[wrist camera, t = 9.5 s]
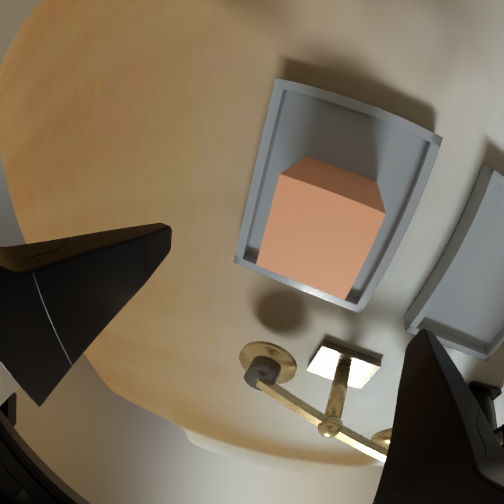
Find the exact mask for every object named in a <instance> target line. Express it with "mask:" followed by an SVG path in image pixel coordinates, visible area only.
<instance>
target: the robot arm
mask: <svg viewBox="0 0 504 504" xmlns="http://www.w3.org/2000/svg"><path fill="white" fill-rule="evenodd" d="M171 236H172V229H171V227H170V226H168V225H166V224H163V223H155V224H148V225H141V226H135V227H128V228H122V229H115V230H109V231H103V232H97V233H91V234H85V235H79V236H74V237H71V238H70V237H68V238H63V239H57V240H51V241H45V242H38V243H31V244H23V245H16V246H9V247H0V504H90V503H89V502H88V501H86V500H85V499H84V498H83V497H81V496H80V495H79V494H78V493H77V492H75V491H74V490H73V489H72V488H71V487H69V486H68V485H67V484H66V483H65V482H64V481H63V480H62V479H61V478H60V477H58V476H57V475H56V474H55V473H54V472H53V471H52V470H51V469H50V468H49V467H48V466H47V465H46V464H45V463H44V462H43V461H42V460H41V459H40V458H39V457H38V455H37V454H36V453H35V452H34V451H33V450H32V449H31V448H30V447H29V445H28V444H27V443H26V442H25V441H24V440H23V438H22V437H21V436H20V435H19V434H18V432H17V431H16V430H15V428H14V425H15V424H16V393H15V392H14V391H15V390H16V389H17V388H18V387H19V386H20V387H21V388H22V389H23V390H24V392H25V393H26V394H27V395H28V396H29V397H30V398H31V399H32V400H33V401H34V402H35V403H36V404H37V405H38V407H40V406H41V405H42V404H43V403H44V401H45V400H46V399H47V397H48V396H49V395H50V393H51V392H52V391H53V390H54V388H55V387H56V386H57V384H58V383H59V382H60V381H61V379H62V378H63V377H64V376H65V374H66V373H67V372H68V371H69V369H70V368H71V367H72V365H73V364H74V363H75V362H76V361H77V360H78V358H79V357H80V356H81V355H82V353H83V352H84V351H85V350H86V349H87V348H88V346H89V345H90V344H91V343H92V342H93V341H94V339H95V338H96V337H97V336H98V335H99V334H100V333H101V331H102V330H103V329H104V328H105V327H106V326H107V325H108V323H109V322H110V321H111V320H112V319H113V318H114V317H115V316H116V315H117V313H118V312H119V311H120V310H121V309H122V308H123V307H124V306H125V305H126V304H127V302H128V301H129V300H130V299H131V298H132V297H133V296H134V295H135V294H136V293H137V292H138V291H139V289H140V288H141V287H142V286H143V285H144V284H145V283H146V282H147V280H148V279H149V278H150V277H151V275H152V274H153V273H154V271H155V270H156V269H157V267H158V266H159V265H160V264H161V262H162V261H163V260H164V258H165V257H166V256H167V255H168V253H169V251H170V249H171ZM501 393H502V391H501V389H500V388H496V387H492V386H488V385H485V384H481V383H477V382H471V383H470V384H468V385H467V384H466V382H465V380H464V379H463V377H462V375H461V374H460V372H459V370H458V369H457V367H456V366H455V364H454V363H453V361H452V359H451V358H450V356H449V355H448V353H447V352H446V350H445V349H444V347H443V346H442V344H441V343H440V341H439V340H438V338H437V337H436V336H435V334H434V333H433V332H432V331H431V330H428V329H425V328H422V329H420V330H419V332H418V333H417V334H416V335H415V337H414V338H413V339H412V340H411V342H410V343H409V344H408V346H407V348H406V352H405V358H404V364H403V369H402V374H401V379H400V383H399V389H398V395H397V403H396V410H395V416H394V422H393V427H392V433H391V438H390V443H389V447H388V452H387V456H386V460H385V464H384V468H383V472H382V475H381V479H380V482H379V486H378V489H377V492H376V496H375V498H374V502H373V504H504V424H503V425H502V426H501V427H499V428H497V422H496V414H495V408H494V402H493V400H495V399H496V398H497V397H498V396H499V395H500V394H501ZM501 443H503V444H502V445H501Z"/></svg>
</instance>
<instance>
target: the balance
mask: <svg viewBox="0 0 504 504" xmlns="http://www.w3.org/2000/svg"><path fill="white" fill-rule="evenodd" d="M239 360H240V363H241V365H242V367H243V368H244V369H245V370H246V373H245V375H244V379H245V381H246V383H247V384H248V385H250V386H251V387H253V388H255V389H257V390H260V391H264V392H265V393H267V394H268V395H270V396H271V397H273V398H274V399H275V400H277V401H278V402H280V403H281V404H283V405H284V406H286V407H287V408H289V409H290V410H292V411H294V412H295V413H297V414H298V415H300V416H301V417H303V418H305V419H306V420H308V421H309V422H311V423H313V424H314V425H316V426H318V431H319V433H320V434H321V435H322V436H324V437H328V438H330V437H334V436H335V437H337V438H338V439H340V440H342V441H344V442H346V443H347V444H349V445H351V446H353V447H355V448H357V449H359V450H361V451H363V452H364V453H366V454H368V455H370V456H372V457H375V458H377V459H379V460H381V461H383V462H385V460H386V456H387V452H388V447H389V443H390V438H391V433H392V428H390V429H386V430H383V431H380V432H378V433H376V434H374V435H373V436H372V437H371V439H370V440H369V439H367V438H365V437H363V436H361V435H359V434H358V433H356V432H354V431H352V430H350V429H349V428H347V427H345V426H343V423H342V420H341V415H342V411H343V406H344V401H345V396H346V391H347V386H348V385H349V386H352V387H355V388H358V389H360V388H361V387H362V386H363V385H364V384H365V383H366V382H367V381H368V380H369V379H370V378H371V377H372V376H373V375H374V374H375V373H376V372H377V371H378V370H379V369H380V367H381V361H380V360H377V359H375V358H372V357H369V356H366V355H363V354H360V353H358V352H355V351H352V350H349V349H347V348H344V347H341V346H339V345H336V344H333V343H331V342H328V341H325V340H324V341H323V342H322V344H321V346H320V347H319V349H318V350H317V352H316V353H315V355H314V356H313V358H312V360H311V361H310V363H309V364H308V367H307V371H309V372H312V373H315V374H317V375H320V376H323V377H326V378H328V379H331V380H333V383H332V387H331V391H330V395H329V399H328V403H327V407H326V411H325V415H324V414H323V413H321V412H320V411H318V410H316V409H315V408H313V407H311V406H310V405H308V404H307V403H305V402H303V401H302V400H300V399H299V398H297V397H296V396H294V395H293V394H291V393H290V392H288V391H287V390H285V389H284V388H282V387H281V386H279V385H278V384H280V383H285V382H288V381H290V380H291V379H292V378H293V377H294V375H295V372H296V369H297V365H296V361H295V359H294V358H293V356H292V355H291V354H290V353H289V352H287V351H286V350H285V349H283V348H282V347H280V346H278V345H275V344H272V343H269V342H262V341H256V342H251V343H248V344H247V345H245V346H244V347H243V349H242V351H241V352H240V355H239Z"/></svg>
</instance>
